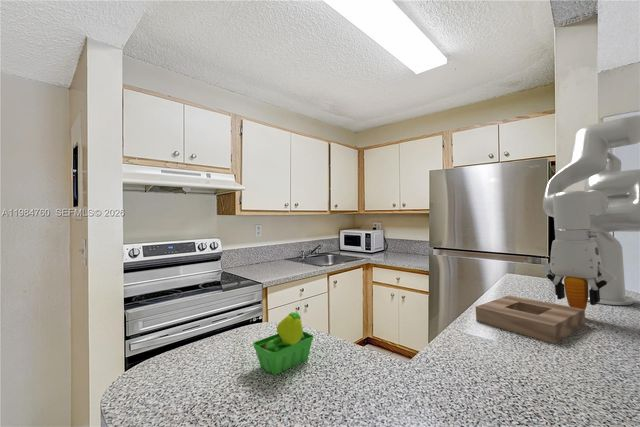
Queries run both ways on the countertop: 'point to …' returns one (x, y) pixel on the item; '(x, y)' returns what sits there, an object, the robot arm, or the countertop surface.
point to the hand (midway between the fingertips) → (577, 300)
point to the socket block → (532, 317)
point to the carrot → (576, 292)
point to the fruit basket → (284, 346)
